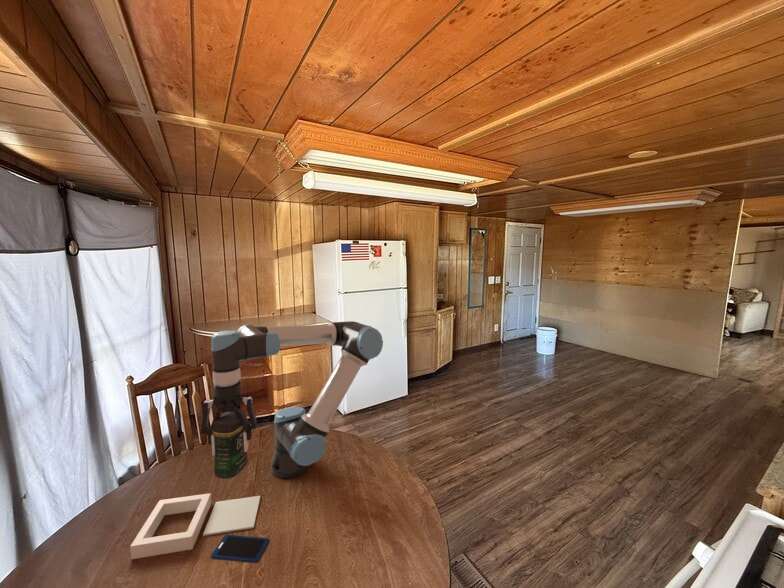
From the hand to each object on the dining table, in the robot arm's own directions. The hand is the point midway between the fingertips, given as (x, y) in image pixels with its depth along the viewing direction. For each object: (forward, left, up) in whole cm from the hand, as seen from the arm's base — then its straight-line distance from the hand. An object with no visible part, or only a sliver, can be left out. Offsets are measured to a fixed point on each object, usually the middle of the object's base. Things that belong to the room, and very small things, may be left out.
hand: (230, 451), depth 101 cm
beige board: (0, 0, -22) cm, 22 cm away
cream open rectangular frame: (+16, +2, -22) cm, 27 cm away
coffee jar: (0, 0, -7) cm, 7 cm away
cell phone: (-5, +13, -23) cm, 27 cm away
